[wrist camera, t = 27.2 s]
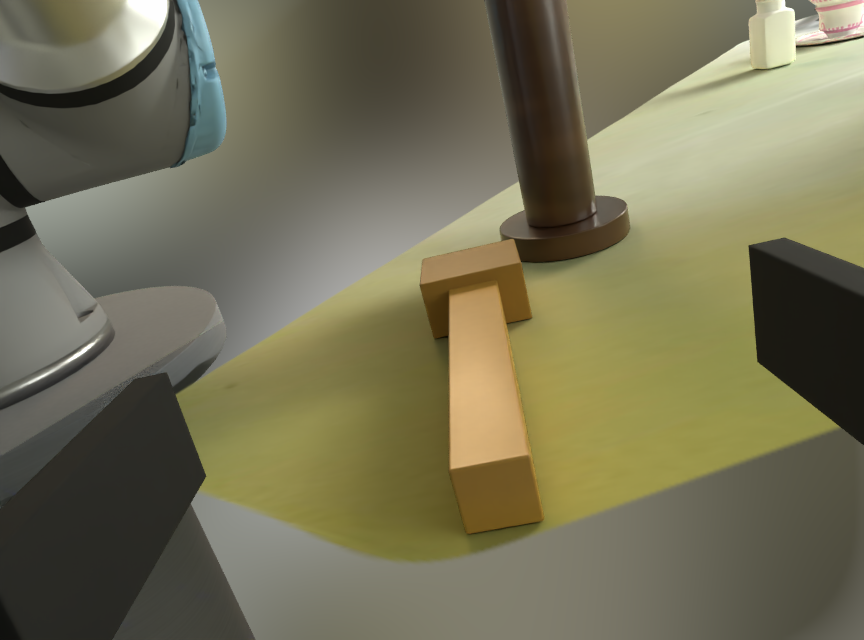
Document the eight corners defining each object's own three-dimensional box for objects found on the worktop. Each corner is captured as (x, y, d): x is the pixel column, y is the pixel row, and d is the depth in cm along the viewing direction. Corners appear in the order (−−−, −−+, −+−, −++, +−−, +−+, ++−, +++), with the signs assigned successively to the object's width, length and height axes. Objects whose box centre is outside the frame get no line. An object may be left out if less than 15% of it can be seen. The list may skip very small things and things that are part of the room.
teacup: (905, 28, 85) (906, -25, 83) (798, 51, 89) (797, 1, 87) (878, 22, 95) (879, -25, 93) (784, 42, 99) (782, -2, 97)
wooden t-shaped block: (424, 543, 20) (398, 462, 19) (435, 308, 37) (422, 258, 36) (589, 514, 20) (573, 429, 18) (524, 289, 37) (513, 237, 35)
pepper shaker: (779, 61, 85) (776, -20, 82) (798, 62, 81) (796, -23, 78) (749, 69, 85) (744, -12, 82) (766, 70, 82) (762, -14, 78)
